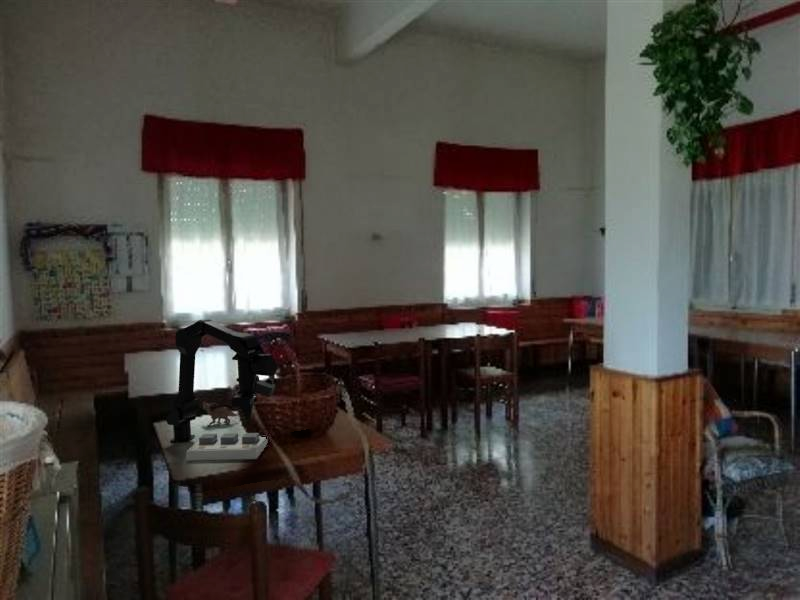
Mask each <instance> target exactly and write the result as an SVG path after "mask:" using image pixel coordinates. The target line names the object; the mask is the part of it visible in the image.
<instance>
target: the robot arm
mask: <svg viewBox="0 0 800 600" xmlns="http://www.w3.org/2000/svg"><path fill="white" fill-rule="evenodd" d="M174 336H175V339H174V341H175V347H176V349H177V350H178V352H179V371H178V375H179V376H178V389H177V390H178V393H177V395H176V397H175V398H174V400H173V402H172V405H171V406H172V407H171V411H170V412H169V414H168V415H167V417H166V418H165V421H166V423H167V425H169V426H172V429H173V430H172V431H173V438H171V439H170V440H169V442H170V443H173V442H172V441H181V442H180V443H182V442H184V443H185V442H190V441H191V440H192V439H194V438H195V436H196V435H195V434H192V429H191V428H192V427H191V421H195V420H196V419H197V414H198V413H199V410H200V403H201V402H200V399H199V398H197V397H196V395H195V394H194V389H195V388H194V386H195V373H196V372H195V371H196V370H195V369H196V368H195V367H196V366H195V365H196V354H197V352H198V350H199V348H200V347H201V344H202V339H203V338H204V337H205V336H209V337H212V338H214V339H217V340H218V341H220V342H222V343H225V344H227V345H228V347H229V349H230V350H231V351H233V352H234V353H235V355H234V356H232V358H231V360H232V361H237V378H236V380H235V381H236V383H238V390H237V391H236V394H235V395H234V396H233V397H232V398H231V399H230V400H229V401H230V407H239V409H240V410H241V413H242V414H243V416H244V418H245V420H246V421H247V422H250V423H251V422H252V421H253V415H254V412H253V413H252V409H253V405H254V404H255V405H256V403H257V402H258V401H259V400H258V399H254V398H255V397H257V396H256V395H257V394H259V395H263V396H264V397H268V398H271V396H272V395H273V394H274V390H275V388H276V384H275V383H274V379H272V378H267V380H266V381H265V380H260V376H266V377H272V376H275V375H276V373H277V371H278V363H277V361H276V359H275V358H273V354H272V353H267V354H266V352H265V350H264V348H263V347H262V346H261V344H260V342H259V340H258V337H257V336H256V335H255V334H252V333H247V332H239V331H235V330H233V329H231V328H228V327H226V326H224V325H221V324H220V323H217V322H215V321H213V320H212V319H210V318H205V319H200V320H197V321H195V322H193V323H192V324H190V325H188V326H186V327H184V328H180V329H178V330H177V331H176V332H175V335H174Z"/></svg>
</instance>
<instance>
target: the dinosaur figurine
mask: <svg viewBox="0 0 800 600" xmlns="http://www.w3.org/2000/svg"><path fill="white" fill-rule="evenodd" d="M207 401H208V399H205V400H204V401H203V402H202V406H203V407H202V408H203V410H205V411H206V412H207V414H208V415H209V416H210V418H211V419H212V421H211V422H209V424H207V426H206V427H211V426H212V425H213V424H216V423H217V424H218V423H220V422H221V420H222V419H223V420H224V421H223V423H225V425H226V426H230V424H231V419H230V418H229V417H233V418H234V417H237V416H238V415H239V414H238V415H237V413H235V412H232V410H231V409H229V408H228V407H227V406H219V404H218V403H217V402H211V403H210V402H207ZM214 407H215V408H214ZM212 408H214V409H212ZM217 419H218V420H217ZM216 420H217V421H216Z"/></svg>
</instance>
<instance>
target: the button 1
mask: <svg viewBox="0 0 800 600" xmlns="http://www.w3.org/2000/svg"><path fill="white" fill-rule="evenodd" d="M217 437H218V433H203V434H202V435H201V436H200V437H198V441H199V445H213V444H214V443H216V442H217Z"/></svg>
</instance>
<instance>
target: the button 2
mask: <svg viewBox="0 0 800 600" xmlns="http://www.w3.org/2000/svg"><path fill="white" fill-rule="evenodd" d="M242 436H243V437H242ZM242 436H241V437H242V444H256V443H257V442H258V441H259V436H260V433H259V432H245V434H243V435H242Z"/></svg>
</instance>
